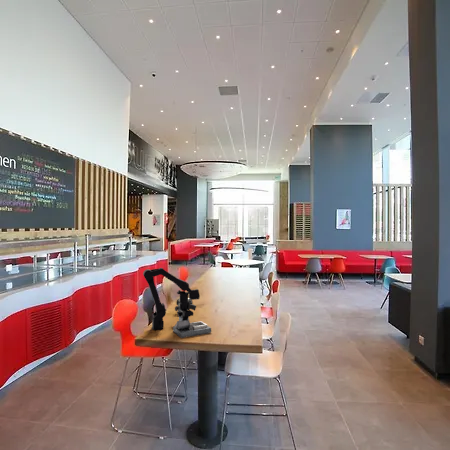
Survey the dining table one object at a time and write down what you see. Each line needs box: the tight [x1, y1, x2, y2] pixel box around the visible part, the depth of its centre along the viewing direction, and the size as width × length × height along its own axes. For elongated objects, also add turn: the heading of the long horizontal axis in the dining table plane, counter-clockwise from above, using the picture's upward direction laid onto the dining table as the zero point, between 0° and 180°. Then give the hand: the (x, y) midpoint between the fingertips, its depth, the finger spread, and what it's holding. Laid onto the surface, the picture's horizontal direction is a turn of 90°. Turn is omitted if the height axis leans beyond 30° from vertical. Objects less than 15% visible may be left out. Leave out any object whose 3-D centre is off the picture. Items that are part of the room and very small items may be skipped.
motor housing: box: [172, 319, 212, 339], centre depth 195 cm, size 21×14×8 cm, turn 120°
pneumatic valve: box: [175, 297, 193, 306], centre depth 241 cm, size 6×12×12 cm, turn 82°
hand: (183, 323), depth 208 cm, fingers closed on drain pump, 5 cm apart
